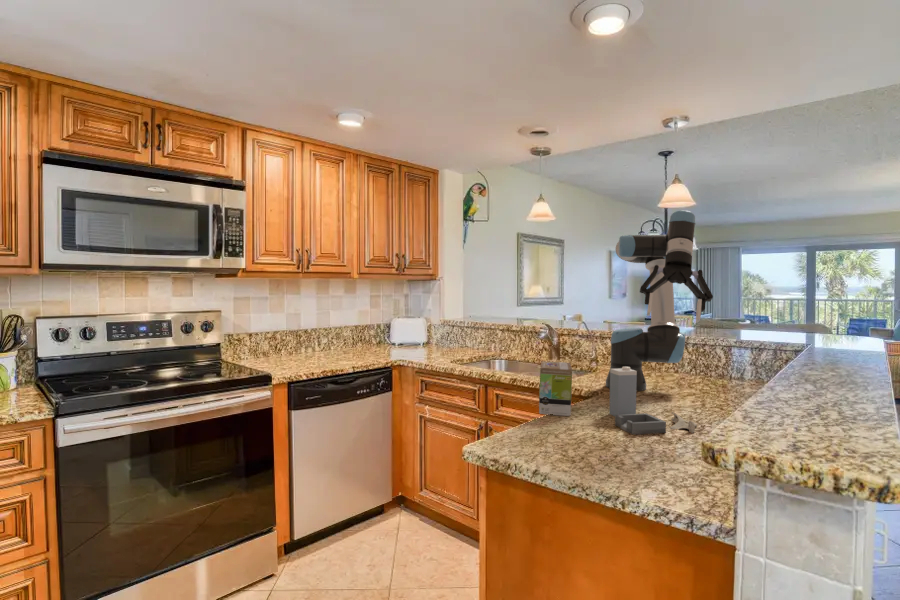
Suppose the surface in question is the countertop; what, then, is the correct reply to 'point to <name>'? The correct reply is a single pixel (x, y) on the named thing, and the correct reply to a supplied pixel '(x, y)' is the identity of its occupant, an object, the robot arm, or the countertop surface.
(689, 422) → the fossil
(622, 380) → the grey tall block
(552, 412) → the tea box
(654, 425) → the pocket
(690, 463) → the countertop surface
